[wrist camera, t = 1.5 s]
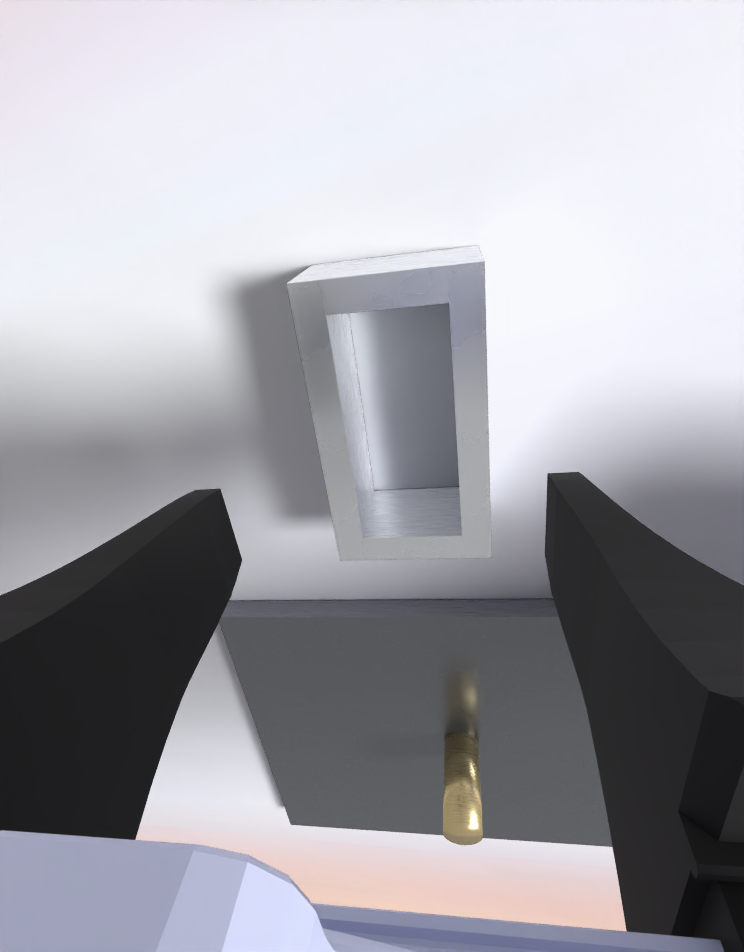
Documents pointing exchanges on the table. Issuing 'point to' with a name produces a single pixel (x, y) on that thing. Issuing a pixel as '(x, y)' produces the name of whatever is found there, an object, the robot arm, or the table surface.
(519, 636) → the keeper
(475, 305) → the link
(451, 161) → the table surface
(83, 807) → the robot arm
